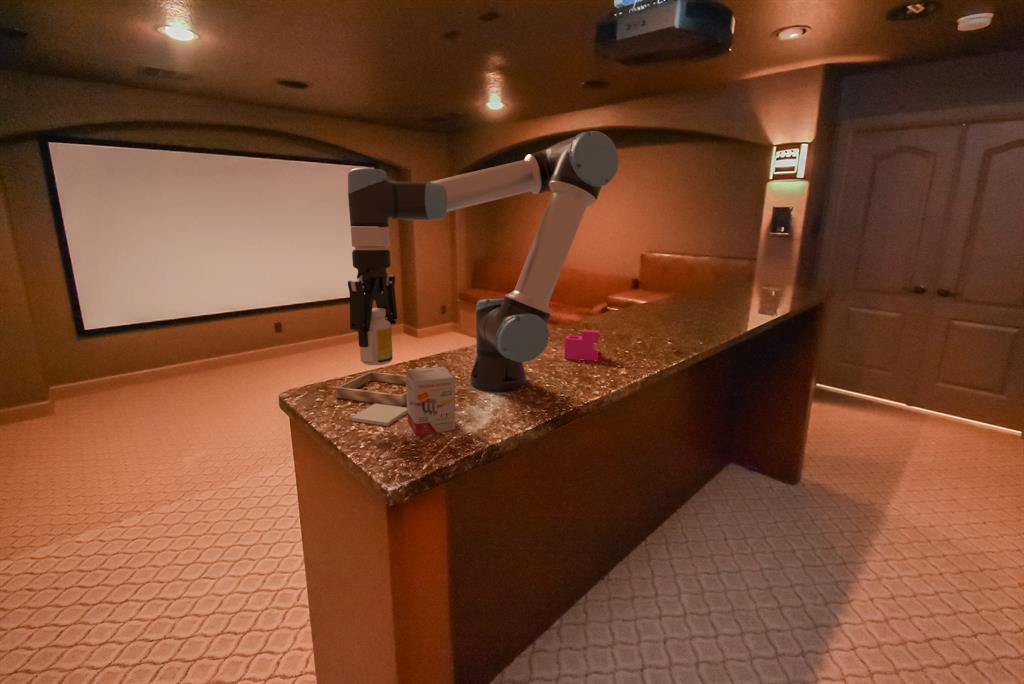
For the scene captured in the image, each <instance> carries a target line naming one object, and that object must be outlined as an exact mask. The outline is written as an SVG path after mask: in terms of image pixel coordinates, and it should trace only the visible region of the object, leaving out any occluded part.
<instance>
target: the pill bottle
mask: <svg viewBox="0 0 1024 684" xmlns="http://www.w3.org/2000/svg"><path fill="white" fill-rule="evenodd" d="M385 316H386V310H385V309H384V308H377V307H372V314H371V321H370V328H369V331H372V337H373V354H374V362H363V361H361V363H362V364H364V365H367V366H375V367H377V366H383V365H387V364H390V363H391V362H392V361H393V338H392V339H391V328H392V324H390V322H389V321H388V320H386V319H385Z"/></svg>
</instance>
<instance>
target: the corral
mask: <svg viewBox="0 0 1024 684" xmlns="http://www.w3.org/2000/svg"><path fill="white" fill-rule="evenodd" d="M371 381H372V382H373V381H374V382H381V383H390V384H399V385H404V386H405V385H406V374H405V375H404V374H395V373H388V372H387V373H386V372H378V371H368V372H366V373H364V374H361V375H359V376H357V377H356V378H353V379H351V380H349V381H346V382H345V383H342V384H341V385H338V386H336V387H335V388H334V391H335V398H339V399H345V400H354V401H360V402H369V403H374V404H375V403H376V404H383V405H391V406H398V407H404V406H405V405H407V390H406V391H404V392H403V393H401V394H397V393H391V392H390V393H389V392H381V391H373V390H367V389H366V390H365V389H359V387H361V386H363V385H365V384H367V383H369V382H371Z"/></svg>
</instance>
